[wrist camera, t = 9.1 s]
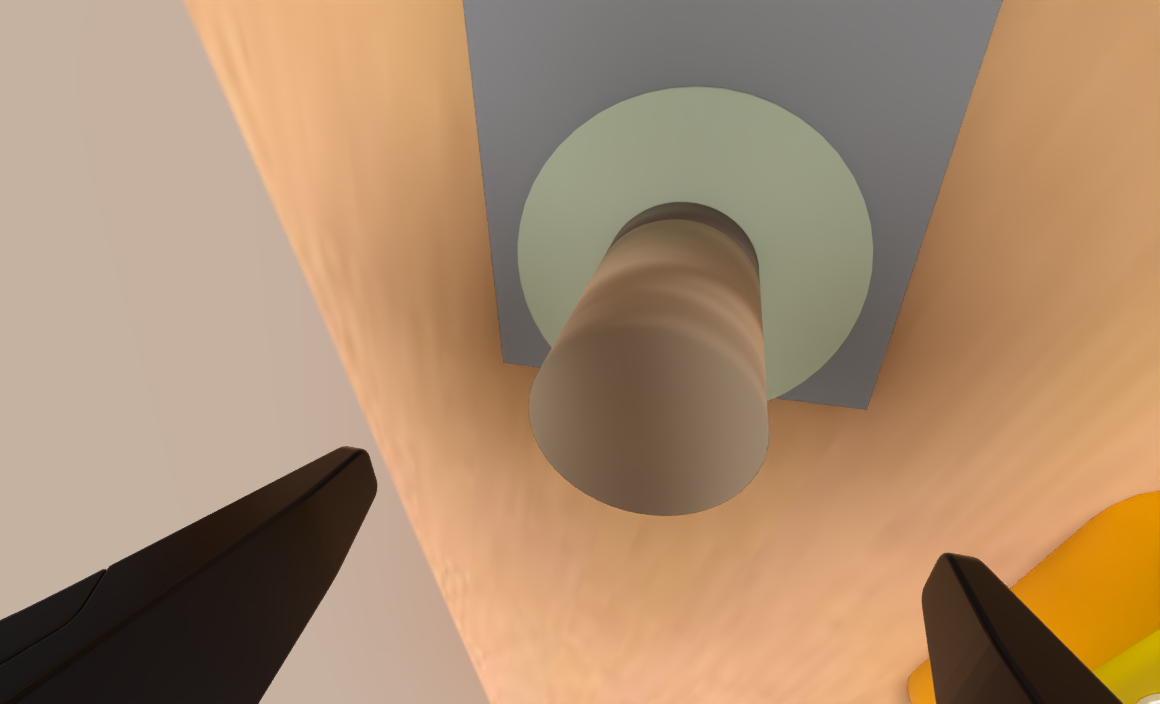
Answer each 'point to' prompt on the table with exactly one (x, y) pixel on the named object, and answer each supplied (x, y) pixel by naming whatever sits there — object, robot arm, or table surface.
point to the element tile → (1099, 600)
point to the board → (725, 155)
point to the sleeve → (661, 368)
